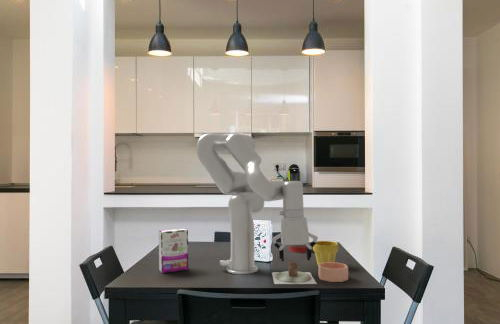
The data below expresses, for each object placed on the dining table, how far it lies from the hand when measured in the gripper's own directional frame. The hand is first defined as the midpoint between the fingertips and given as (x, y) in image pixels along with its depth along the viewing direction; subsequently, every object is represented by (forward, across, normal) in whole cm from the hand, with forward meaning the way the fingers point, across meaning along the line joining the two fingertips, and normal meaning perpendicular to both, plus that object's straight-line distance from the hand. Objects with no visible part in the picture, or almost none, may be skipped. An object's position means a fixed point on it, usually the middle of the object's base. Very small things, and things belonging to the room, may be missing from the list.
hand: (295, 260), depth 145 cm
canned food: (+7, +8, +51) cm, 52 cm away
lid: (+7, -1, +1) cm, 7 cm away
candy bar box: (+6, -48, +14) cm, 50 cm away
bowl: (+8, +14, +1) cm, 16 cm away
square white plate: (+7, -1, +1) cm, 7 cm away
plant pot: (+7, +15, +20) cm, 26 cm away
